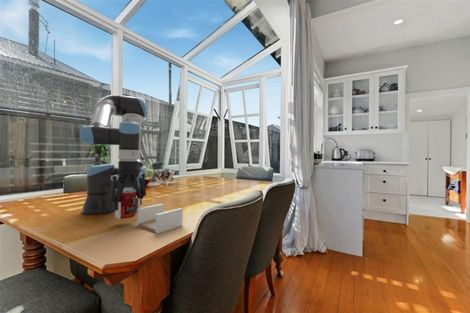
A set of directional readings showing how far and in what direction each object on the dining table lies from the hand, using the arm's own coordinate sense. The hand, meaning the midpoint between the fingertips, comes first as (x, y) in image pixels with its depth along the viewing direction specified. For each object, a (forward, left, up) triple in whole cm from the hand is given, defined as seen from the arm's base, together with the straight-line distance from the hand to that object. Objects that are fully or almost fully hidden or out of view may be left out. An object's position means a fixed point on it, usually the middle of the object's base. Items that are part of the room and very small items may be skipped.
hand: (127, 215), depth 90 cm
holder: (+11, +8, -4) cm, 14 cm away
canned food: (-2, 0, -1) cm, 2 cm away
